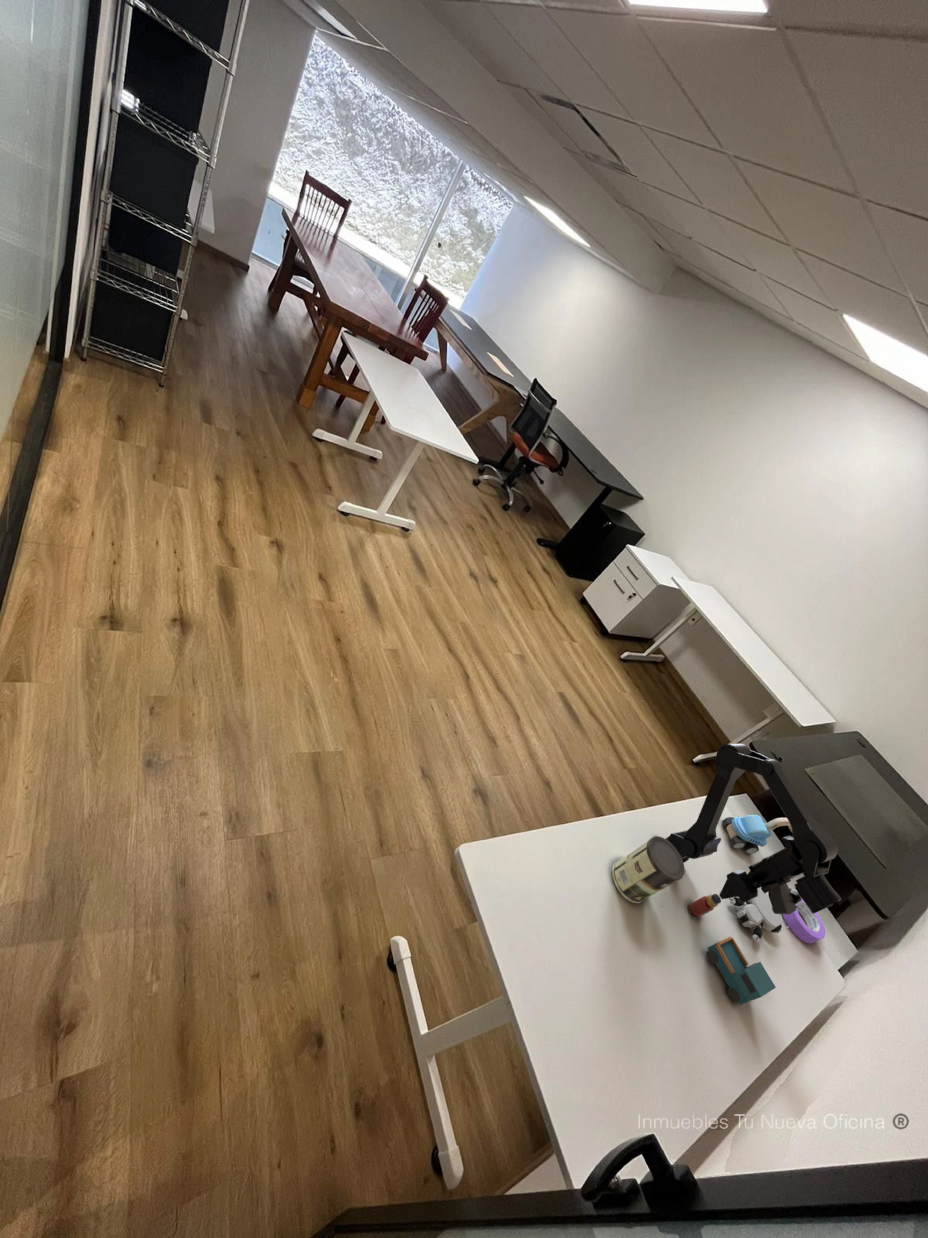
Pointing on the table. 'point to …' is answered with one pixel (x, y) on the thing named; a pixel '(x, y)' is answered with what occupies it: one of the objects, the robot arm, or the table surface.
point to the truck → (739, 972)
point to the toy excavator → (751, 831)
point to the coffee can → (648, 870)
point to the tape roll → (800, 929)
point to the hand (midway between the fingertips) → (730, 893)
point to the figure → (703, 905)
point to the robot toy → (758, 914)
